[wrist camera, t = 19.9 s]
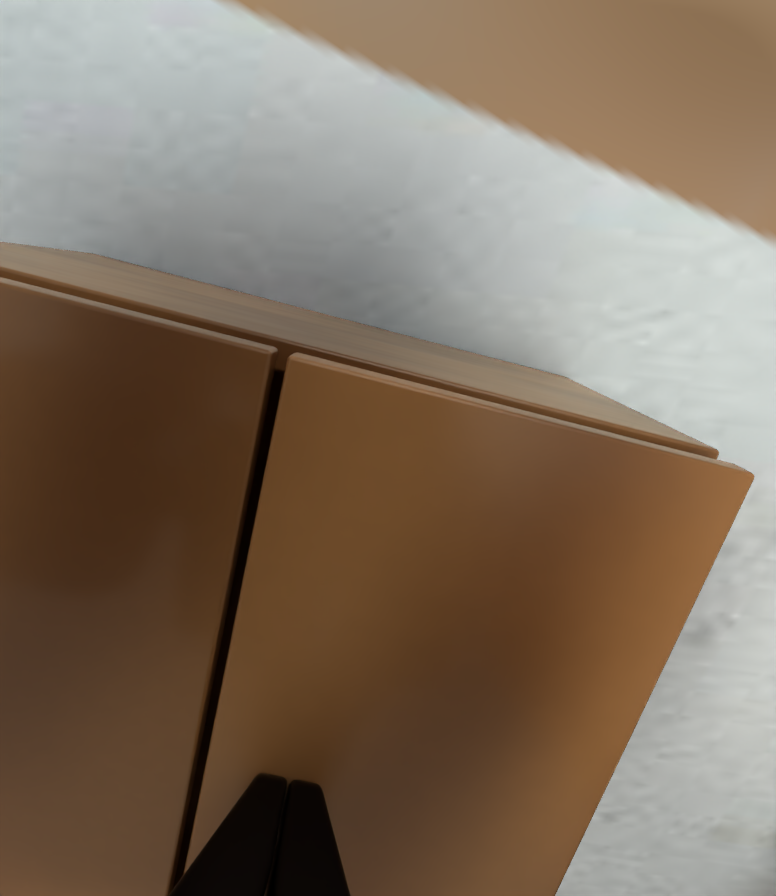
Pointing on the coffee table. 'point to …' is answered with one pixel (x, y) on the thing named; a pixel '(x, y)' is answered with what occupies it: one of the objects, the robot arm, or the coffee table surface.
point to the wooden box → (154, 538)
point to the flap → (453, 625)
